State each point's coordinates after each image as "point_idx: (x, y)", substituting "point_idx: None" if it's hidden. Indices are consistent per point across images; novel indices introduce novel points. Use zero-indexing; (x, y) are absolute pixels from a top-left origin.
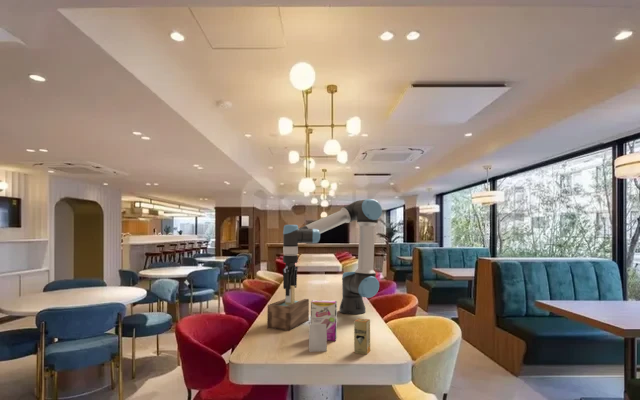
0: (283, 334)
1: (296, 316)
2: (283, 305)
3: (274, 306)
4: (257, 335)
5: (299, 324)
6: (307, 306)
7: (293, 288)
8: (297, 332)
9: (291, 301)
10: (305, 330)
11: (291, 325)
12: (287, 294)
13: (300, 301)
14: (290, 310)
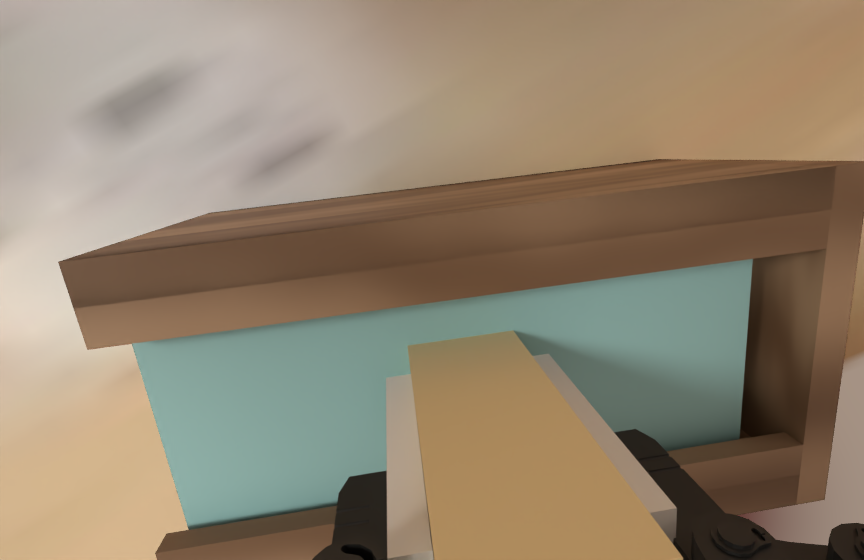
0: (785, 142)
1: (557, 181)
2: (600, 401)
3: (825, 403)
4: (860, 305)
5: (452, 184)
6: (182, 232)
7: (517, 520)
8: (689, 63)
9: (528, 354)
10: (596, 28)
11: (650, 163)
12: (660, 460)
13: (371, 268)
14: (807, 162)
